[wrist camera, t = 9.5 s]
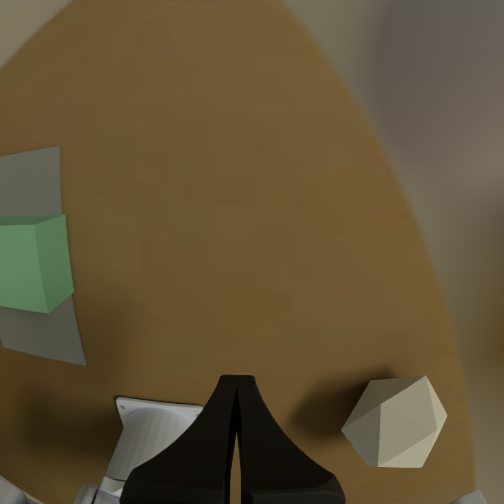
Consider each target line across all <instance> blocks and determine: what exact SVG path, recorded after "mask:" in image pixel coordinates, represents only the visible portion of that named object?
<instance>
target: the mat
mask: <svg viewBox="0 0 504 504" xmlns="http://www.w3.org/2000/svg"><path fill="white" fill-rule="evenodd" d="M59 214H62V198H61V146H58V147H51V148H45V149H39V150H33V151H27V152H22V153H17V154H11V155H6V156H2V157H0V217H10V216H31V215H59ZM0 339H1V342H2V345H3V347H4V348H8V349H12V350H15V351H19V352H23V353H27V354H31V355H36V356H40V357H44V358H49V359H54V360H58V361H63V362H68V363H73V364H79V365H84V366H87V362H86V358H85V354H84V350H83V346H82V342H81V338H80V333H79V329H78V324H77V319H76V314H75V309H74V304H73V298H72V294H71V295H70V296H69V297H68V298H66V299H65V300H64V301H63V302H62V303H60V304H59V305H58V306H57V307H56V308H54V309H53V310H52V311H51V312H50V313H49V314H47V313H40V312H34V311H27V310H21V309H15V308H9V307H4V306H0Z"/></svg>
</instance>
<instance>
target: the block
mask: <svg viewBox="0 0 504 504" xmlns="http://www.w3.org/2000/svg"><path fill="white" fill-rule="evenodd" d="M72 293H74V287H73V280H72V273H71V266H70V258H69V249H68V240H67V228H66V215H65V214H59V215H31V216H10V217H0V306H4V307H9V308H15V309H21V310H27V311H34V312H40V313H47V314H49V313H50V312H51V311H52V310H53V309H54V308H56V307H57V306H58V305H59V304H60V303H62V302H63V301H64V300H65V299H66V298H68V297H69V296H70V295H71V294H72Z"/></svg>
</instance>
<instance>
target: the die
mask: <svg viewBox="0 0 504 504" xmlns="http://www.w3.org/2000/svg"><path fill="white" fill-rule="evenodd" d="M446 417H447V414H446V412H445V410H444V408H443V406H442V404H441V402H440V401H439V399H438V397H437V395H436V393H435V391H434V389H433V388H432V386H431V384H430V382H429V380H428V379H427V377H426V375H425V376H416V377H406V378H394V379H381V380H370V382H369V384H368V385H367V387H366V389H365V391H364V393H363V394H362V396H361V398H360V399H359V401H358V403H357V405H356V406H355V408H354V410H353V411H352V413H351V415H350V416H349V418H348V419H347V421H346V423H345V424H344V426H343V427H342V429H341V431H342V432H343V434H344V435H345V436H346V438H347V439H348V441H349V442H350V443H351V445H352V446H353V447H354V449H355V450H356V451H357V453H358V454H359V455H360V457H361V458H362V459H363V461H364V462H365V463H366V465H367V466H377V467H406V468H421V467H422V466H423V464H424V462H425V460H426V458H427V456H428V454H429V453H430V451H431V449H432V447H433V445H434V443H435V441H436V439H437V437H438V435H439V433H440V431H441V428H442V426H443V424H444V422H445V420H446Z"/></svg>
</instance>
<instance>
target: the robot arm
mask: <svg viewBox="0 0 504 504" xmlns="http://www.w3.org/2000/svg"><path fill="white" fill-rule="evenodd" d="M116 404H117V407H118V411H119V414H120V417H121V420H122V423H123V427H124V429H123V431H122V434H121V436H120V439H119V441H118V444H117V446H116V449H115V451H114V454H113V456H112V459H111V461H110V464H109V466H108V469H107V472H106V474H105V477H103V480H102V482H101V485H100V487H99V490H98V489H96V488H97V485H95V484H93V483H89V485H83V486H82V487H81V489H80V491H79V493H78V495H77V497H76V499H75V502H74V504H230V477H231V467H232V460H233V453H234V446H235V439H236V432H237V437H238V448H239V458H240V468H241V504H345V502H346V499H345V495H344V492H343V490H342V488H341V486H340V483H339V482H338V480H337V478H336V476H335V475H334V474H332V473H331V472H329V471H327V470H326V469H324V468H323V467H321V466H320V465H318V464H317V463H316V462H315V461H313V460H312V459H311V458H309V457H308V456H307V455H306V454H305V453H304V452H303V451H302V450H301V449H299V448H298V447H297V446H296V445H295V444H294V443H293V442H292V441H291V440H290V438H289V437H288V436H287V435H286V434H285V433H284V431H283V430H282V429H281V428H280V426H279V425H278V424H277V422H276V421H275V419H274V418H273V416H272V415H271V413H270V411H269V410H268V408H267V406H266V404H265V403H264V401H263V399H262V397H261V395H260V392H259V390H258V387H257V385H256V381H255V377H253V376H252V375H222V376H220V379H219V382H218V384H217V386H216V388H215V390H214V392H213V394H212V396H211V397H210V399H209V400H208V402H207V404H206V405H205V407H204V408H202V407H201V406H196V405H183V404H172V403H163V402H154V401H146V400H138V399H131V398H125V397H118V398H117V400H116ZM197 414H199V415H197ZM0 504H38V503H36V502H34V501H32V500H29V499H27V497H26V495H25V494H24V493H23V492H22V491H21V490H20V489H19V488H18V487H16V486H14V485H13V484H11V483H9V482H7V481H5V480H3V479H1V478H0ZM450 504H487V503H486V501H485V499H484V497H483V496H482V494H481V492H480V490H479V489H477V490H475V491H472V492H470V493H468V494H466V495H464V496H461V497H459V498H457V499H456V500H454V501H453V502H451V503H450Z"/></svg>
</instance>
